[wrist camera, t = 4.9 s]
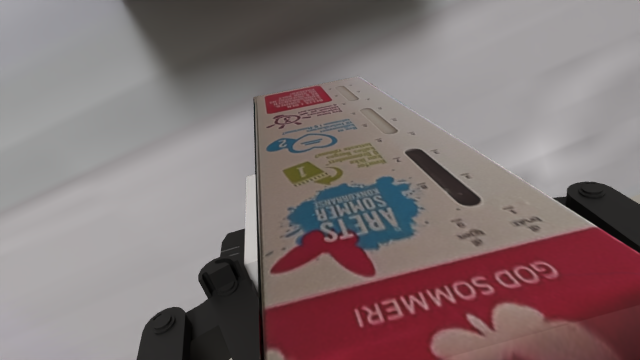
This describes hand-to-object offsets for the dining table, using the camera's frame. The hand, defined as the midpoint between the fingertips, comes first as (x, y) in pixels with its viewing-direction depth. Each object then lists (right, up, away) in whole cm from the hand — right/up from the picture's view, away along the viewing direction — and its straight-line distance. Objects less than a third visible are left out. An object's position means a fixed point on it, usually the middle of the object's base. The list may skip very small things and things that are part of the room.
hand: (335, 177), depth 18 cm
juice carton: (-1, +3, +6) cm, 6 cm away
